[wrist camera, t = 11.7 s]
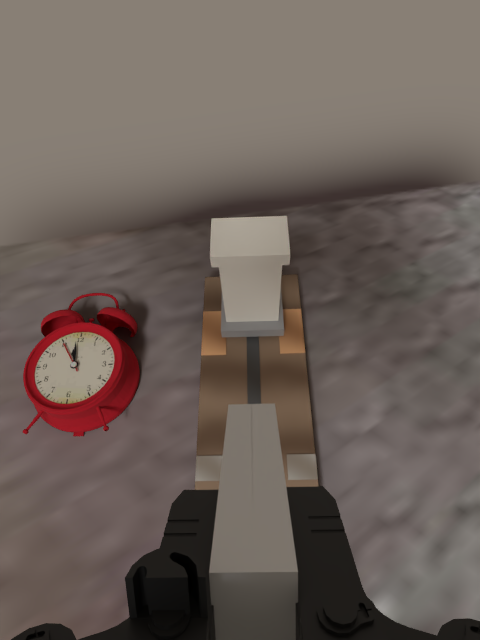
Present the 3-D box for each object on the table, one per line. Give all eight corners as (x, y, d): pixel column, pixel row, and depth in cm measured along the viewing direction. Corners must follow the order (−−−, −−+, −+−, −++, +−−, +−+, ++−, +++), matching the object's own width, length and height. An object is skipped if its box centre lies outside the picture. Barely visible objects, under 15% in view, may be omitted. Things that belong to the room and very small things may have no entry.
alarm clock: (0, 437, 35) (22, 276, 40) (37, 440, 41) (52, 299, 46) (122, 431, 35) (130, 270, 40) (141, 435, 41) (146, 295, 46)
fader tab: (283, 335, 40) (290, 259, 30) (221, 337, 40) (209, 262, 30) (280, 293, 43) (286, 211, 33) (222, 295, 43) (211, 214, 33)
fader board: (318, 522, 34) (322, 520, 32) (196, 524, 34) (193, 521, 32) (296, 285, 46) (297, 273, 44) (207, 288, 46) (205, 276, 45)
